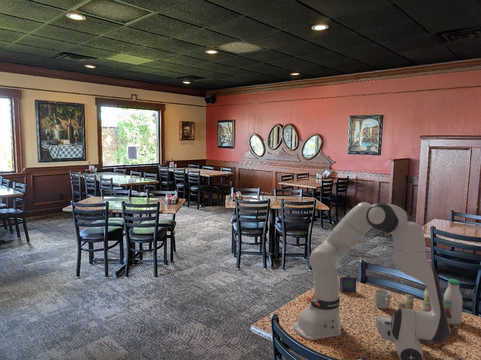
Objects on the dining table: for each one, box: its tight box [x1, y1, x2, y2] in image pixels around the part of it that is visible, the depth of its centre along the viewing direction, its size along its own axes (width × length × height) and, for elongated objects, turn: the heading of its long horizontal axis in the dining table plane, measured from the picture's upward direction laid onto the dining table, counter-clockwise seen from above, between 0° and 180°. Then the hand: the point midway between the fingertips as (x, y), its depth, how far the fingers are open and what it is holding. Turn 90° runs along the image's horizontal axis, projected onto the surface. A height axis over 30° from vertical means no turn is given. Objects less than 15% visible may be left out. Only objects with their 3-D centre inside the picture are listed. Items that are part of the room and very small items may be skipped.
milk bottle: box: [443, 278, 463, 326], centre depth 163 cm, size 8×8×20 cm
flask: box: [339, 272, 357, 294], centre depth 197 cm, size 9×3×11 cm, turn 84°
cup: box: [374, 288, 392, 310], centre depth 176 cm, size 11×8×8 cm
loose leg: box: [395, 300, 406, 311], centre depth 148 cm, size 4×4×16 cm
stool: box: [403, 288, 460, 347], centre depth 154 cm, size 22×16×16 cm
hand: (400, 317), depth 149 cm, fingers closed on loose leg, 4 cm apart
